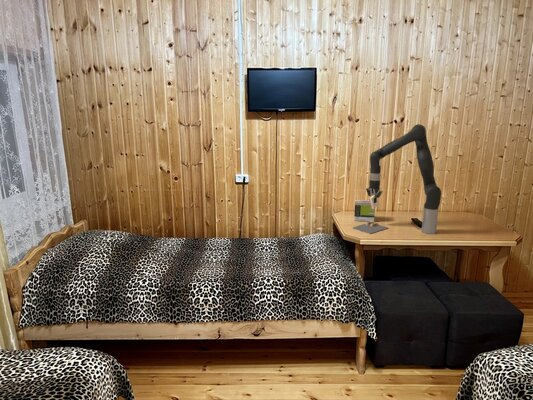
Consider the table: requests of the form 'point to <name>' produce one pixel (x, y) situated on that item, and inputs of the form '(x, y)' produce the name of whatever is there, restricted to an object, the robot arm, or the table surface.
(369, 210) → the tea box
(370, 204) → the tile
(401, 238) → the table surface
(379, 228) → the mat
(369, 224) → the slot stand
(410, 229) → the table surface
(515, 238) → the table surface
